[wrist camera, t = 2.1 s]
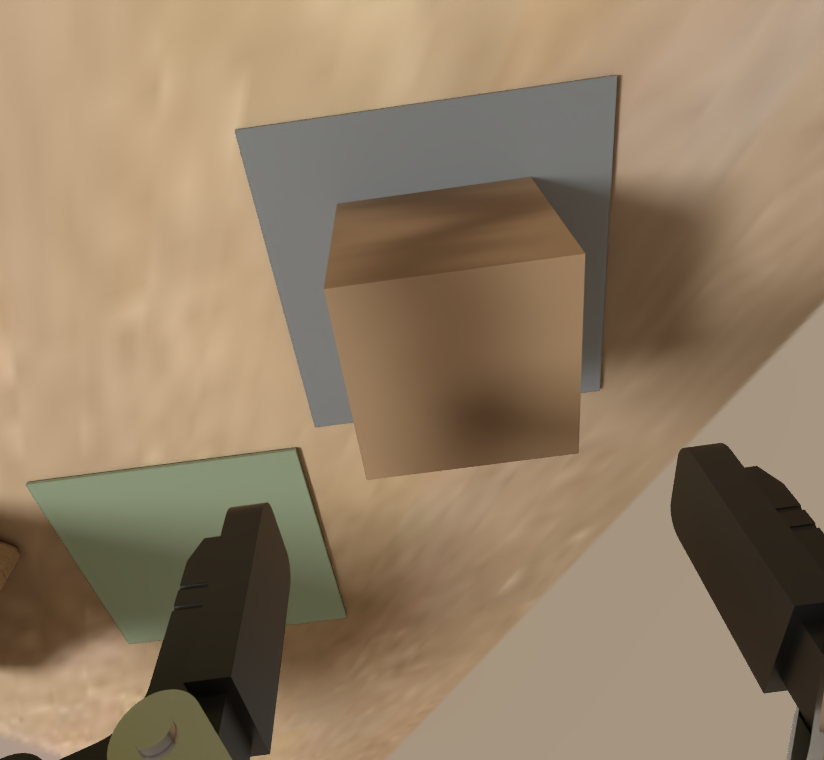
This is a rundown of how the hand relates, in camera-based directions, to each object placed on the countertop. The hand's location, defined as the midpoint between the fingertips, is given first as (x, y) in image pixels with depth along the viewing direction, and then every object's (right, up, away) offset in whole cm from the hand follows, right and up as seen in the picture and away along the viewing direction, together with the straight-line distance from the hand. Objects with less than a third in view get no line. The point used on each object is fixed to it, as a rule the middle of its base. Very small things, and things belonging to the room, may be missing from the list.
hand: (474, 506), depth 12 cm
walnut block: (0, +6, +9) cm, 10 cm away
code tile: (0, +6, +9) cm, 11 cm away
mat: (-11, -5, +16) cm, 20 cm away
